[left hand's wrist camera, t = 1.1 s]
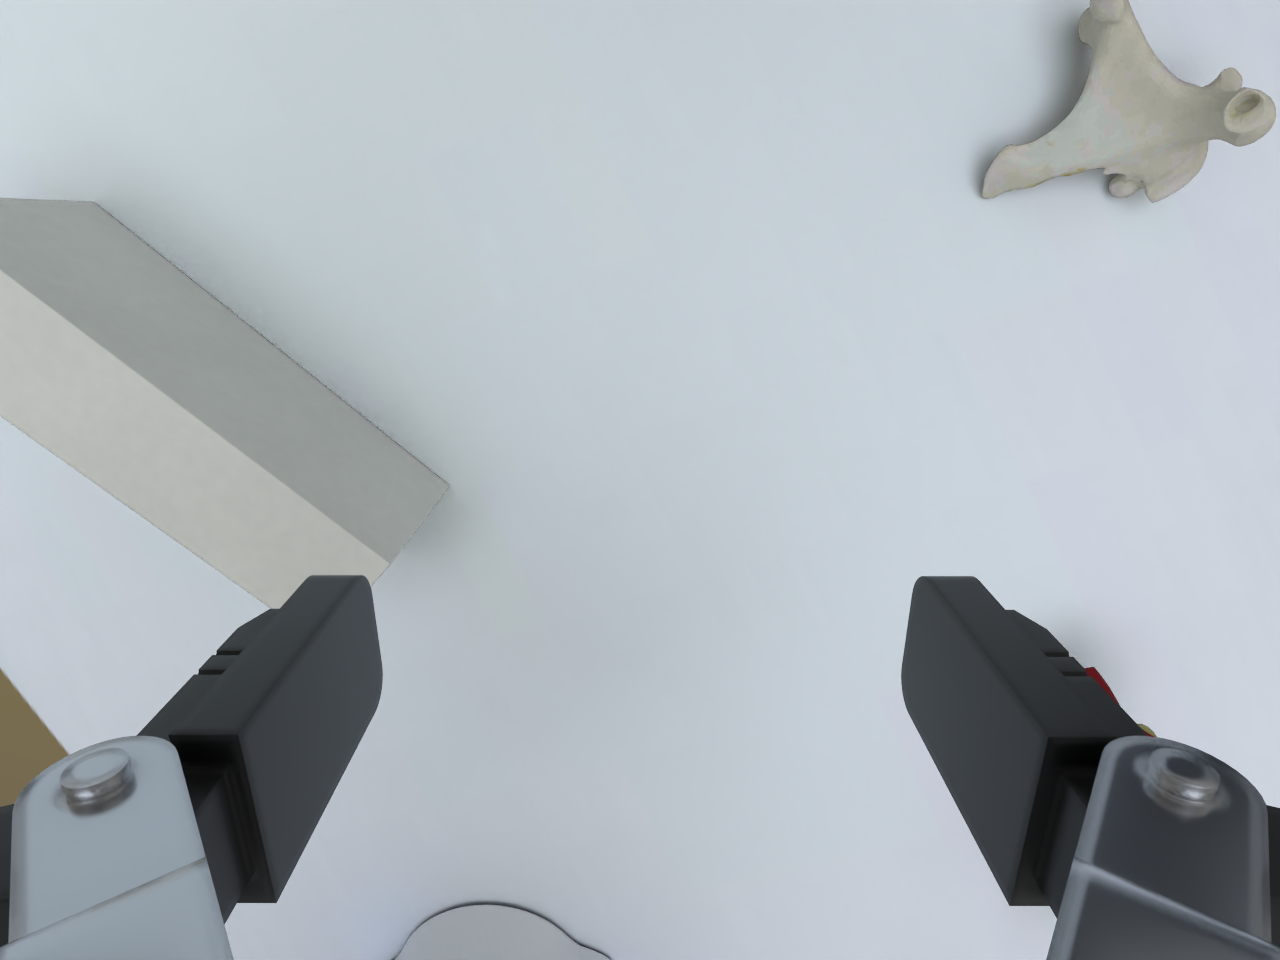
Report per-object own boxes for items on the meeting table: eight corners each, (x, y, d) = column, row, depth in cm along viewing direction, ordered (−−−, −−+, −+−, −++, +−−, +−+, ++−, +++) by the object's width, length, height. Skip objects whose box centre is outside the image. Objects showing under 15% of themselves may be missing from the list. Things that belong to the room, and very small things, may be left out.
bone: (1103, -41, 32) (1281, 119, 30) (1141, -35, 36) (1301, 106, 35) (932, 158, 40) (1067, 294, 38) (980, 144, 44) (1103, 267, 42)
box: (43, 282, 42) (-162, 302, 32) (93, 201, 41) (-102, 192, 30) (394, 549, 47) (320, 644, 37) (450, 485, 46) (390, 564, 35)
